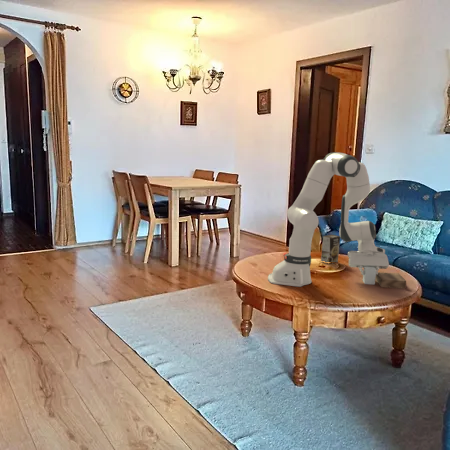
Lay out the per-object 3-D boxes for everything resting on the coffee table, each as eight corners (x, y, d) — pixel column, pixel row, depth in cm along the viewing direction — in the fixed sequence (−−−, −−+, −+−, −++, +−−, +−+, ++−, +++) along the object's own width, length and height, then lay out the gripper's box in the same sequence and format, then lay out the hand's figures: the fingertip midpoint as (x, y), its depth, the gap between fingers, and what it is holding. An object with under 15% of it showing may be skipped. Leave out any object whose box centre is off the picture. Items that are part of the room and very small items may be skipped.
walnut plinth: (381, 287, 219) (381, 279, 218) (375, 279, 230) (375, 272, 230) (405, 288, 218) (406, 281, 217) (398, 280, 229) (399, 273, 229)
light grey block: (364, 283, 223) (366, 269, 221) (362, 280, 228) (364, 266, 226) (374, 284, 222) (376, 269, 221) (372, 281, 227) (373, 266, 225)
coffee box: (329, 264, 254) (331, 238, 251) (320, 262, 259) (322, 236, 255) (338, 262, 260) (340, 236, 256) (329, 259, 265) (331, 234, 261)
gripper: (348, 247, 229) (350, 270, 222) (387, 249, 228) (391, 273, 220) (346, 253, 234) (348, 276, 227) (384, 255, 233) (387, 278, 225)
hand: (369, 274), depth 223 cm, fingers closed on light grey block, 5 cm apart
